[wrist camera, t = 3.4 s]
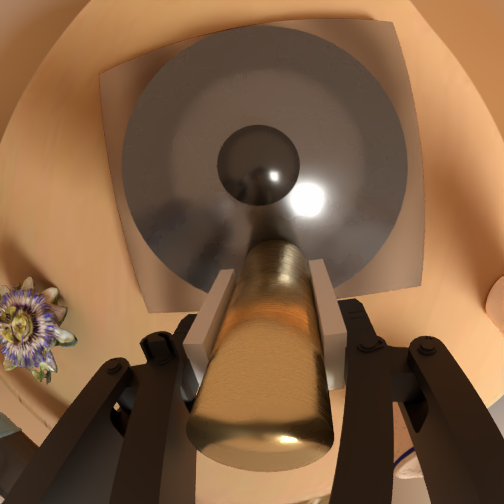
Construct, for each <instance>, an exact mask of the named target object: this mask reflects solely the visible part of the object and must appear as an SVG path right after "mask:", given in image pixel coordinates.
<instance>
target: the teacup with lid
mask: <svg viewBox="0 0 504 504" xmlns="http://www.w3.org/2000/svg"><path fill="white" fill-rule="evenodd" d="M393 419H394V471H393V473H394V475H395V476H396V477H398V478H403V479H408V478H415V477H423V474H422V470H421V467H420V464H419V461H418V458H417V455H416V452H415V449H414V446H413V443H412V441H411V438H410V435H409V432H408V429H407V427H406V424H405V421H404V419H403V416H402V413H401V411H400V408H399V406H398V403H397V402H393Z"/></svg>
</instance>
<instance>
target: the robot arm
mask: <svg viewBox="0 0 504 504" xmlns="http://www.w3.org/2000/svg"><path fill="white" fill-rule="evenodd" d="M309 271H310V281H311V286H312V292H313V297H314V302H315V308H316V313H317V319H318V325H319V331H320V337H321V343H322V349H323V355H324V362H325V369H326V375H327V383H328V390H335V389H342V388H344V382H345V385H346V396H345V405H344V415H343V424H342V431H341V439H340V446H339V452H338V458H337V464H336V470H335V475H334V481H333V486H332V490H331V495H330V500H329V504H391V501H392V489H393V471H394V419H393V402H397V403H398V406H399V408H400V411H401V413H402V416H403V419H404V421H405V424H406V427H407V429H408V432H409V435H410V438H411V441H412V443H413V446H414V449H415V452H416V455H417V458H418V461H419V464H420V467H421V470H422V474H423V477H424V480H425V483H426V486H427V490H428V494H429V497H430V501H431V504H504V439H503V437H502V434H501V433H500V431H499V429H498V427H497V425H496V424H495V422H494V420H493V418H492V417H491V415H490V413H489V411H488V410H487V408H486V406H485V405H484V403H483V401H482V400H481V398H480V397H479V395H478V393H477V392H476V390H475V389H474V387H473V386H472V384H471V382H470V381H469V379H468V378H467V376H466V375H465V373H464V372H463V370H462V369H461V368H460V366H459V365H458V363H457V362H456V360H455V359H454V358H453V356H452V355H451V353H450V352H449V351H448V349H447V348H446V346H445V345H444V344H443V343H442V342H441V341H440V340H439V339H437V338H435V337H431V336H420V337H418V338H415V339H414V340H413V341H412V342H411V343H410V346H409V348H405V347H392V346H388V345H387V344H386V342H385V340H384V339H382V338H381V337H379V336H377V335H376V333H375V331H374V329H373V326H372V324H371V322H370V320H369V317H368V315H367V313H366V312H365V309H364V307H363V304H362V303H361V302H359V301H358V300H356V299H355V298H354V299H347V300H339V301H337V299H336V296H335V293H334V290H333V287H332V284H331V281H330V278H329V275H328V273H327V270H326V267H325V264H324V261H323V259H317V260H309ZM236 284H237V281H236V276H235V271H234V269H226V270H220V272H219V274H218V276H217V278H216V280H215V282H214V284H213V286H212V288H211V289H210V291H209V293H208V295H207V297H206V299H205V301H204V303H203V305H202V307H201V309H200V311H199V312H198V314H188V315H187V316H186V317H185V318H184V319H182V320H181V322H180V323H179V325H178V327H177V328H176V330H175V332H174V334H173V335H172V334H171V333H169V332H166V331H159V332H155V333H152V334H149V335H147V336H146V337H144V338H143V339H142V340H141V342H140V345H141V348H142V350H143V352H144V354H145V357H146V359H147V363H146V364H142V365H136V366H130V364H129V362H128V361H127V360H126V359H125V358H122V357H121V358H113V359H110V360H108V361H107V362H105V363H104V364H103V365H102V366H101V367H100V368H99V370H98V371H97V372H96V373H95V375H94V376H93V377H92V378H91V380H90V381H89V382H88V383H87V385H86V386H85V387H84V389H83V390H82V391H81V392H80V394H79V395H78V396H77V398H76V399H75V400H74V401H73V403H72V404H71V405H70V407H69V408H68V409H67V411H66V412H65V413H64V415H63V416H62V417H61V419H60V420H59V421H58V423H57V424H56V425H55V427H54V428H53V429H52V431H51V432H50V433H49V435H48V436H47V438H46V439H45V440H44V442H43V443H42V444H41V446H40V447H38V446H37V445H36V444H35V443H34V442H33V441H32V440H31V439H29V437H28V436H26V435H25V434H24V433H23V432H22V431H21V430H22V429H21V428H19V427H17V426H16V425H15V424H14V423H13V422H12V421H11V420H10V419H9V418H8V417H7V416H6V415H5V414H3V413H1V412H0V504H195V484H196V452H197V449H196V448H195V447H194V446H193V445H192V444H191V442H190V441H189V439H188V437H187V434H186V425H187V421H188V419H189V416H190V413H191V410H192V407H193V404H194V402H195V399H196V396H197V395H196V393H197V390H198V387H200V385H201V382H202V379H203V376H204V373H205V371H206V368H207V365H208V362H209V359H210V356H211V354H212V351H213V348H214V345H215V342H216V340H217V337H218V334H219V331H220V328H221V326H222V323H223V320H224V317H225V314H226V312H227V309H228V306H229V303H230V300H231V298H232V295H233V292H234V289H235V286H236ZM116 402H117V403H118V404H119V406H120V407H119V409H118V410H117V411H116V410H115V409H114V405H115V404H116Z"/></svg>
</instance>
